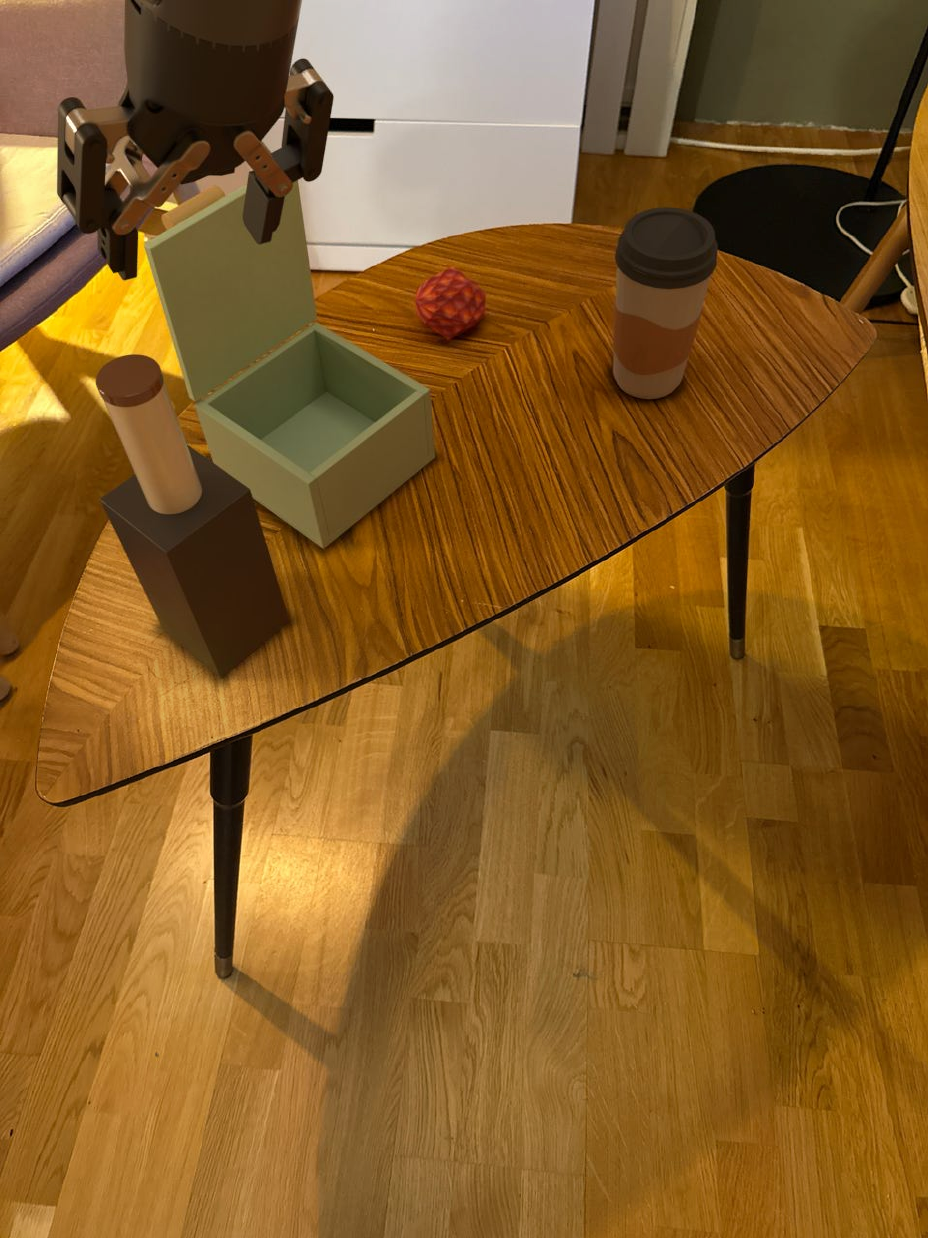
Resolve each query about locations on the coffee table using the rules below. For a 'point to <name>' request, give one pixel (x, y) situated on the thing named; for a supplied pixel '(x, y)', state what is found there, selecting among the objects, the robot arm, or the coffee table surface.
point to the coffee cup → (659, 297)
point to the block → (203, 566)
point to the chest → (319, 431)
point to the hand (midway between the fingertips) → (190, 250)
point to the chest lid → (229, 285)
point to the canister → (150, 432)
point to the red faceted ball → (450, 303)
